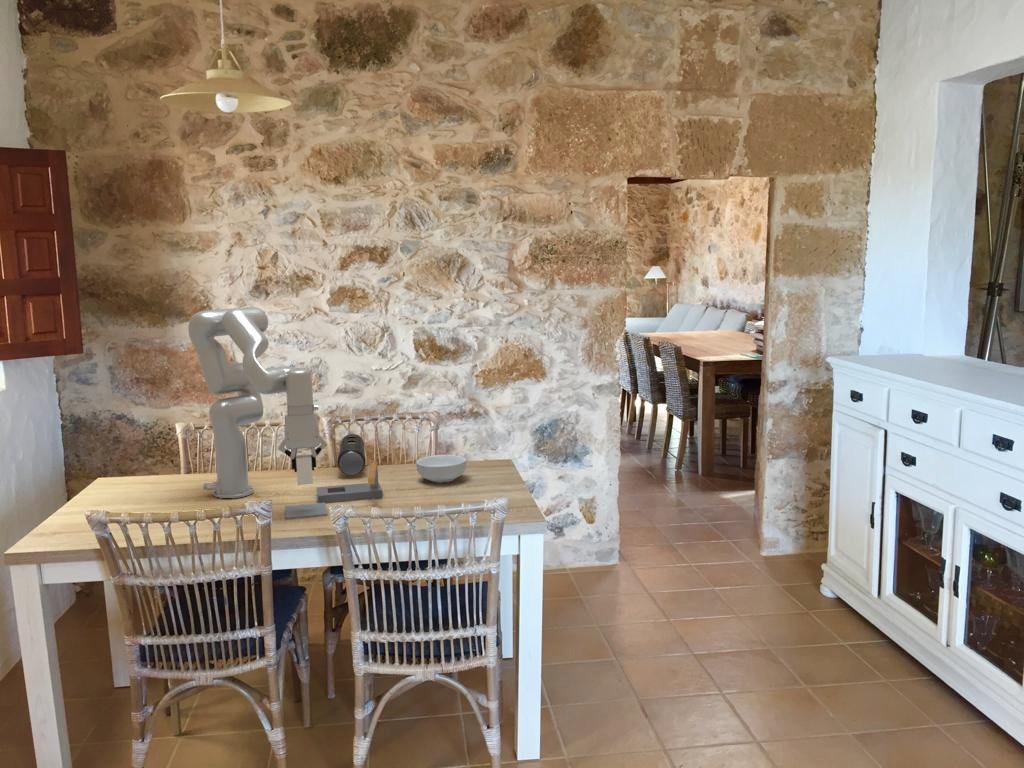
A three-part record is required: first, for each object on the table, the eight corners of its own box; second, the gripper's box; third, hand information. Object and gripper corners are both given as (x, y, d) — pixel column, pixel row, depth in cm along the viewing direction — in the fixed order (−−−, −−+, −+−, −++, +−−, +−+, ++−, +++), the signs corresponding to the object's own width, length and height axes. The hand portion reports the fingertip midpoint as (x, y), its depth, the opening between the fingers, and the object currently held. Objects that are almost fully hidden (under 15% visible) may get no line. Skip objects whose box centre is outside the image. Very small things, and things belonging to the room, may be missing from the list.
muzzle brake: (365, 459, 321) (364, 432, 319) (366, 478, 293) (364, 449, 292) (340, 460, 319) (338, 433, 317) (337, 480, 292) (336, 450, 290)
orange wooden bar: (375, 484, 254) (375, 477, 254) (366, 484, 254) (366, 477, 254) (377, 467, 274) (377, 461, 274) (369, 467, 274) (369, 461, 273)
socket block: (318, 503, 265) (317, 478, 263) (316, 494, 274) (315, 470, 273) (382, 497, 270) (381, 472, 268) (379, 489, 279) (378, 465, 278)
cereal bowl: (456, 471, 301) (456, 452, 300) (474, 482, 286) (473, 462, 285) (410, 477, 294) (409, 457, 293) (426, 489, 279) (425, 468, 278)
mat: (285, 519, 250) (285, 517, 249) (285, 507, 261) (285, 506, 261) (327, 515, 253) (327, 513, 253) (325, 503, 264) (324, 502, 264)
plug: (297, 485, 252) (296, 458, 251) (297, 481, 257) (295, 455, 255) (312, 483, 254) (311, 457, 252) (312, 480, 258) (310, 454, 257)
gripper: (328, 406, 258) (332, 465, 260) (271, 410, 253) (275, 469, 256) (330, 410, 250) (333, 470, 253) (271, 414, 246) (275, 475, 249)
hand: (304, 469), depth 255 cm, fingers closed on plug, 4 cm apart
